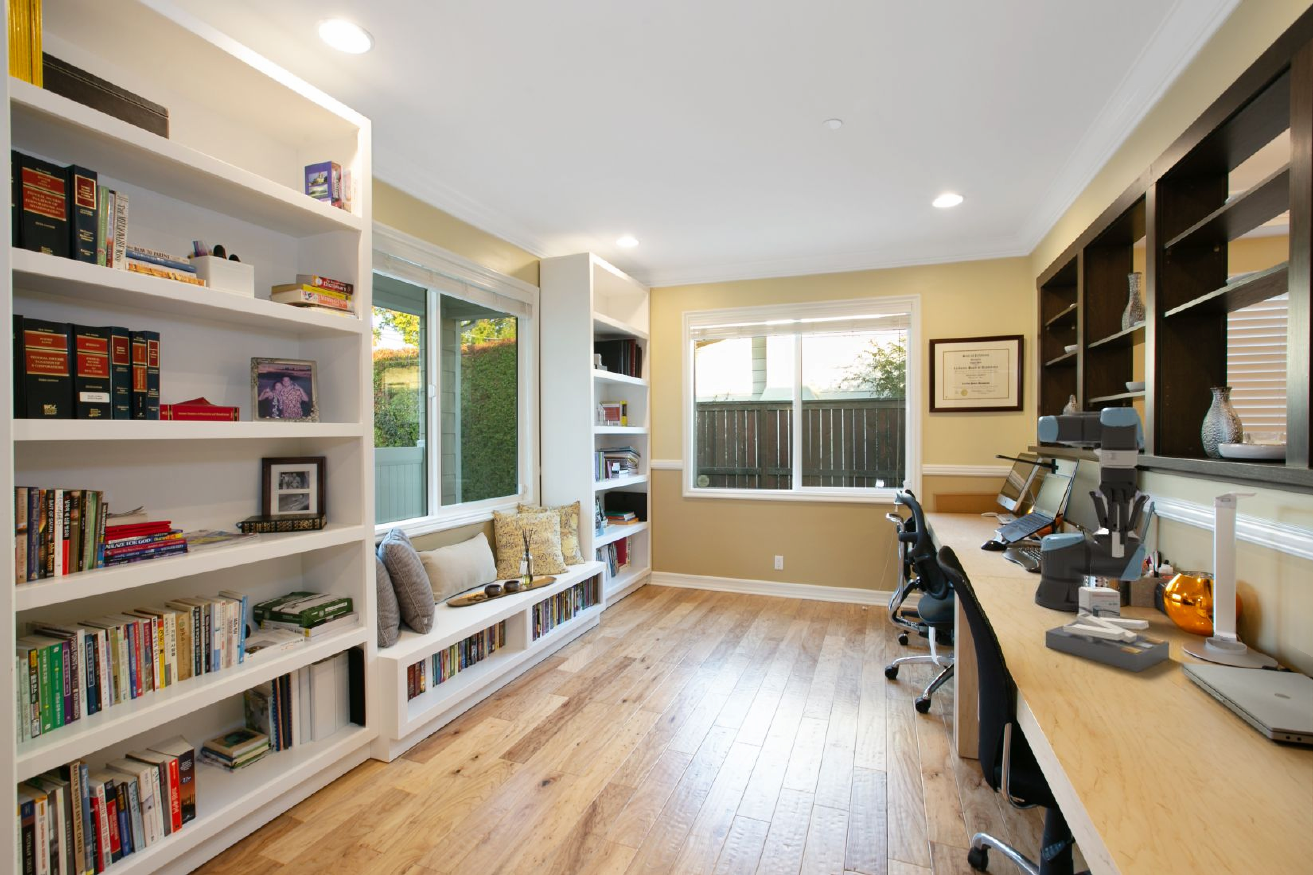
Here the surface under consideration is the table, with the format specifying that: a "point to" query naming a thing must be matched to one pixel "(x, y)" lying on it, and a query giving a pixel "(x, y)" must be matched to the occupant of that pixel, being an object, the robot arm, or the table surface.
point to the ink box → (1099, 602)
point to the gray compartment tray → (1110, 648)
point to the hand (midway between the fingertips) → (1117, 556)
